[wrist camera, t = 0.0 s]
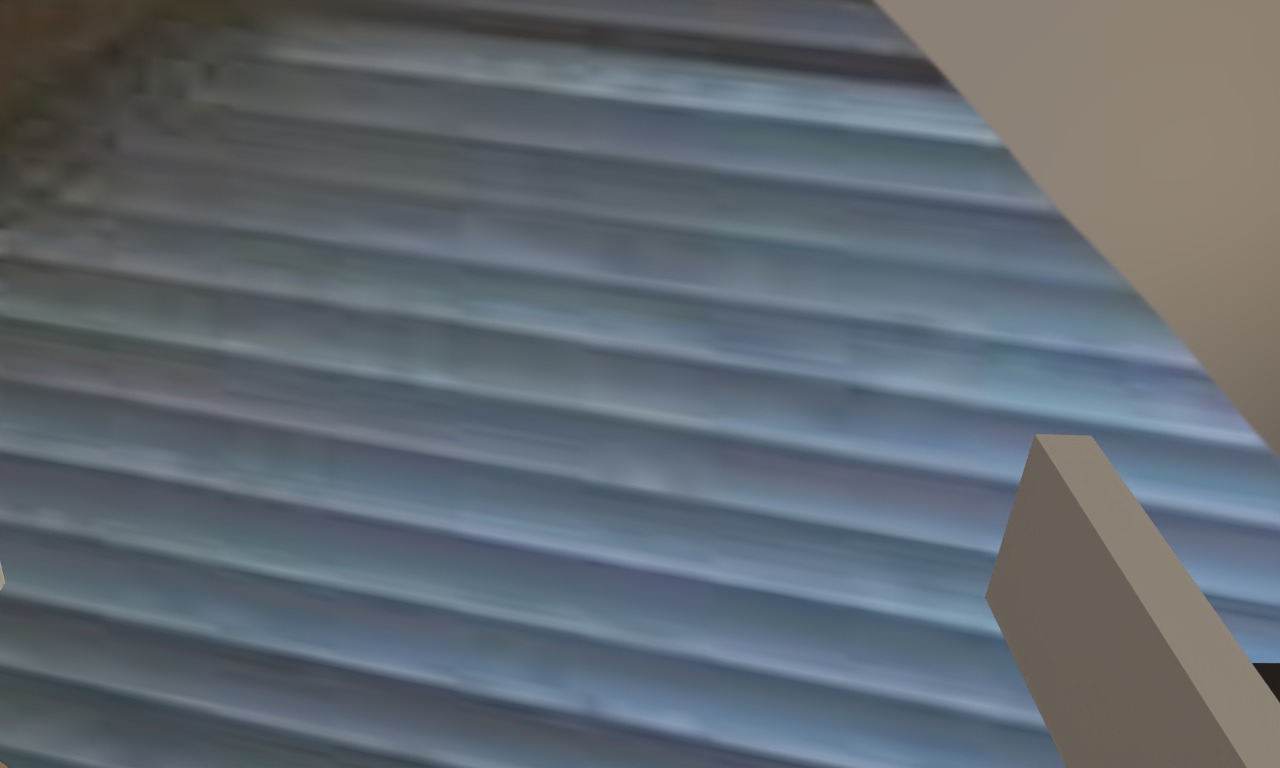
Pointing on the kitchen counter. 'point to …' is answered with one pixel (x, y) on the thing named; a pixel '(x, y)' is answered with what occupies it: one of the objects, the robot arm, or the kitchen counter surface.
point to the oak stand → (2, 765)
